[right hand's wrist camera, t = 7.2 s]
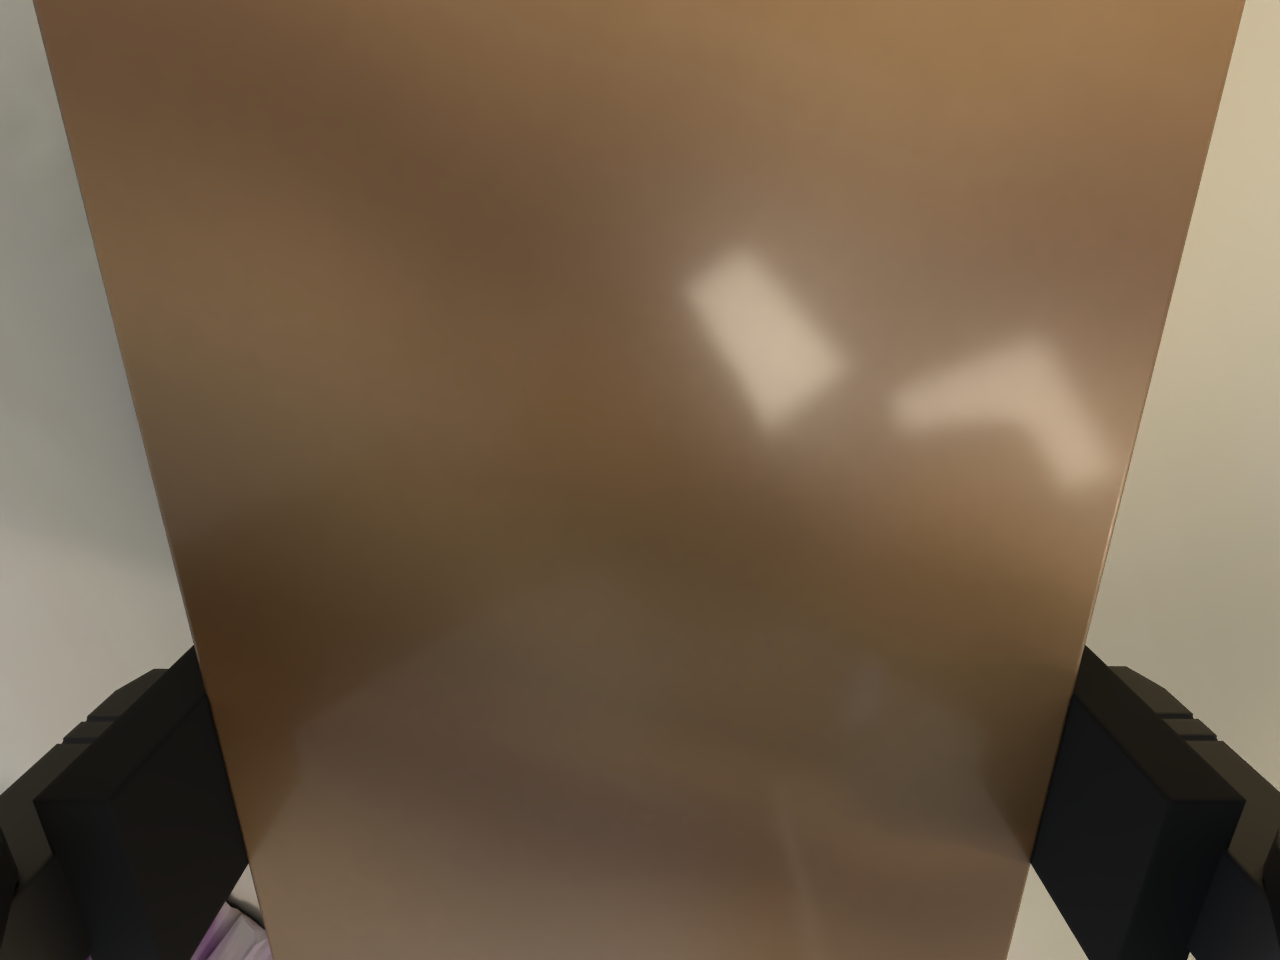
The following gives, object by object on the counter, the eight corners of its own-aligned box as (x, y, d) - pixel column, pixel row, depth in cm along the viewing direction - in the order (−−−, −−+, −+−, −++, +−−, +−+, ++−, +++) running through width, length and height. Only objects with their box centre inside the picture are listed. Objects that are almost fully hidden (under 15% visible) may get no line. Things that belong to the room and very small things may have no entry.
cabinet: (285, -577, 11) (-640, -2647, 3) (993, -577, 11) (1914, -2647, 3) (430, 651, 18) (273, 975, 10) (848, 651, 18) (1005, 975, 10)
